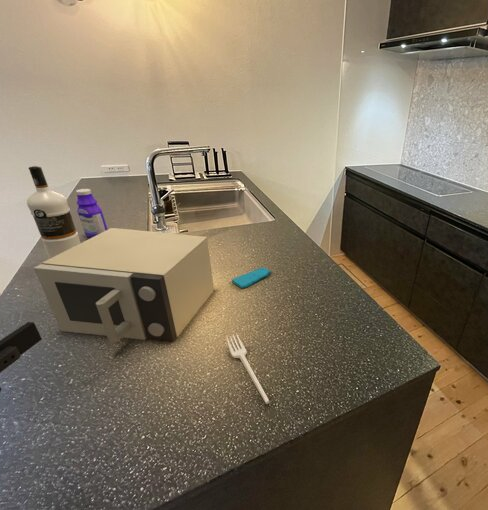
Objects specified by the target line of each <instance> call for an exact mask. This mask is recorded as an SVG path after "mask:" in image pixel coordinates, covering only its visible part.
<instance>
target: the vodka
mask: <svg viewBox="0 0 488 510" xmlns="http://www.w3.org/2000/svg"><path fill="white" fill-rule="evenodd" d="M28 170H29V174H30V176H31V178H32V181H33V185H34V186H35V190H36V191H35V192H34V193H32V194H31V195H30V196H29V197H28V198H27V200H26V206H27V208H28V209H29V211H30V215H31V216H32V217H33V219H34V221H35V222H34V223H35V225H36V227H37V230H38V232H39V235H40V240H41V241H42V243H43V246H44V248H45V251H46V255H47V260H49V259H51V258H53V257H55V256H56V255H58V254H60V253H62V252H64V251H66V250H68V249H70V248H72V247H74V246H76V245H78V244H80V243H82V242H81V240H80V237H79V232H78V231H77V229H76V225H75V223H74V219H73V217H72V214H71V209H70V207H69V203H68V199H67V198H66V197H65V196H64V195H63V194H62V193H60V192H59V193H58V192H56V191H53V190H50V188H49V185H48V182H47V179H46V176H45V173H44V171H43V167H41V166H40V165H38V166H37V165H33V166H28Z"/></svg>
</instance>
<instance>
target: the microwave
mask: <svg viewBox="0 0 488 510" xmlns="http://www.w3.org/2000/svg"><path fill="white" fill-rule="evenodd" d="M208 241H209V240H208V237H207V236H203V235H202V236H199V235H191V234H181V233H169V232H161V231H160V232H157V231H150V230H149V231H147V230H137V229H129V228H128V229H127V228H117V227H110V228H107V230H106V231H104V232H102V233H100V234H98V235H96V236H94V237H92V238H90V237H89V239H87V240H84V241H82V242H81V243H80V244H78V245H76V246H74V247H72V248H70V249H68V250H66V251H64V252H62V253H60V254H58V255H56V256H55V257H53V258H51V259H49V260H48V259H46V260H44V261H43V262H41V264H44V265H54V266H64V267H74V268H84V269H94V270H105V271H115V272H125V273H133V275H132V276H131V280H132V284H133V287H134V291H135V295H136V298H137V302H138V306H139V309H140V313H141V317H142V320H143V324H144V328H145V331H146V335H147V338H146V339H147V340H153V341H162V342H172V343H173V342H175V340H176V339H178V337H179V336H180V334H181V333H182V332H183V331H184V329H185V328H186V327H187V326H188V324H189V323H190V322H191V320H192V319H193V318H194V316H196V314H197V313H198V312H199V310H200V309H201V308H202V306H203V305H204V304H205V303H206V301H207V300H208V299H209V297H210V296H211V295H212V293H213V292H214V291H215V287H214V279H213V272H212V271H213V270H212V265H211V264H212V263H211V258H210V257H211V256H210V249H209V242H208Z"/></svg>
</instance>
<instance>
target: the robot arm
mask: <svg viewBox="0 0 488 510" xmlns="http://www.w3.org/2000/svg"><path fill="white" fill-rule="evenodd" d="M42 340H43V338H42V336H41V334H40V332H39V329H38V328H37V326H36V324H35V322H32V321H27V322H26V323H24V324H22V325H21V326H20V327H18V328H16V329H15V330H13V331H12V332H11V333H9V334H8V335H6V336H5V337H3V338H1V339H0V374H1V373H2V372H3V371H5V370H6V369H7V368H9V367H10V366H12V365H13V364H14V363H15V362H17V361H18V360H19V359H21V356H22V355H23V354H24V353H26V352H27V351H28V350H30V349H31V348H33V347H34V346H36V344H38V343H39V342H40V341H42ZM1 391H2V387H1V386H0V392H1Z"/></svg>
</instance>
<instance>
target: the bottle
mask: <svg viewBox="0 0 488 510" xmlns="http://www.w3.org/2000/svg"><path fill="white" fill-rule="evenodd" d="M75 193H76V197H77V201H76V205H77V206H78V207H77V210H76V212H77V214H78V215H77V216H78V218H79V221H80V225H81V227H82V230H83V232H84V235H85V236H86V237H87V238H89V239H90V238H92V237H94V236H96V235H98V234H100V233H102V232H104V231H106V230H108V226H107V224H106V219H105V217H104V216H105V215H104V212H103V210H102V207H100V206H99V205H98V201H97V200H96V198H95V197H94V195H93V193H92V190H91V189H90V188H80V189H76V190H75Z"/></svg>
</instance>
